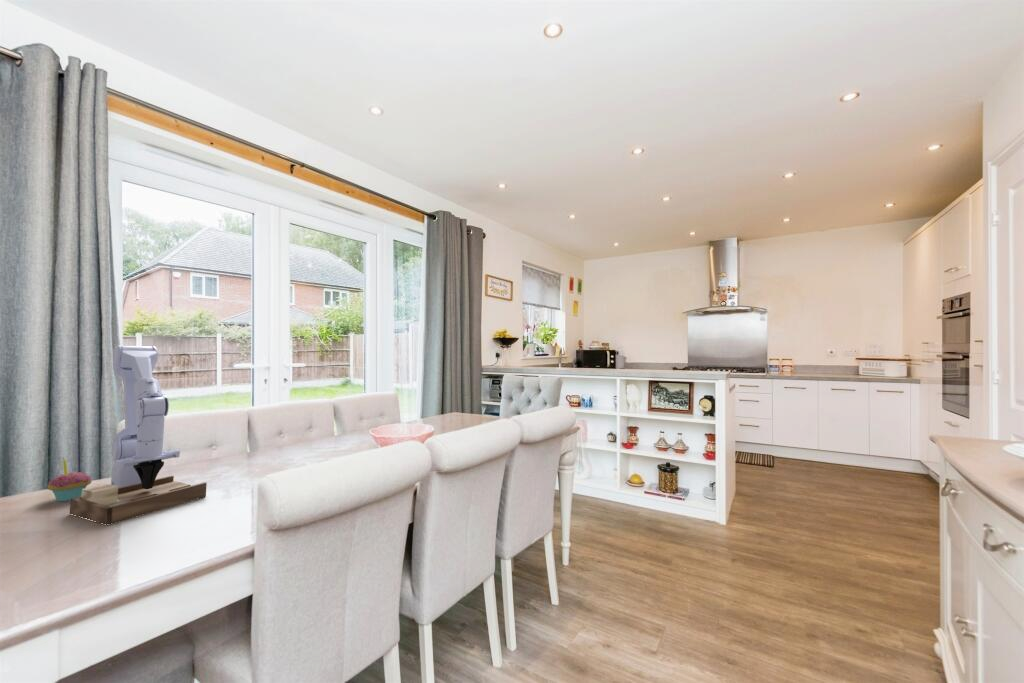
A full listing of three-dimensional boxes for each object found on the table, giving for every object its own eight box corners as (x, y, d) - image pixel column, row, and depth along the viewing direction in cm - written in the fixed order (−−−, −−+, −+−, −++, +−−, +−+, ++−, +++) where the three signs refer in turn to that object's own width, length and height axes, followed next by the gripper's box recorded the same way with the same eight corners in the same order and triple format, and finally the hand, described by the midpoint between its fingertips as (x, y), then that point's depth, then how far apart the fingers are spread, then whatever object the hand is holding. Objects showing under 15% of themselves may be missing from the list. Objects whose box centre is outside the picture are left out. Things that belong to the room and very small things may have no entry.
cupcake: (67, 504, 113) (69, 459, 113) (36, 503, 113) (39, 458, 113) (99, 494, 121) (101, 452, 122) (70, 493, 122) (73, 451, 122)
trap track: (69, 514, 106) (70, 498, 106) (170, 488, 128) (171, 475, 128) (106, 525, 101) (107, 508, 101) (205, 496, 122) (206, 482, 122)
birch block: (81, 505, 106) (82, 489, 107) (105, 499, 111) (106, 483, 111) (92, 508, 105) (93, 492, 105) (117, 501, 109) (118, 486, 109)
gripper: (127, 446, 110) (124, 498, 110) (187, 436, 123) (184, 483, 123) (111, 443, 113) (108, 494, 112) (172, 434, 126) (169, 479, 126)
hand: (147, 488), depth 118 cm, fingers closed
